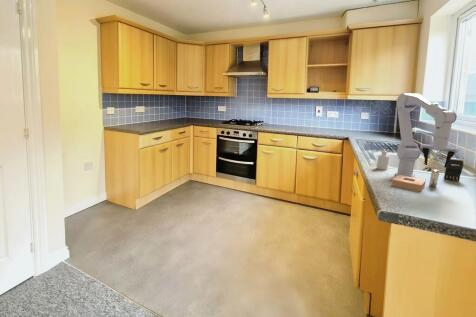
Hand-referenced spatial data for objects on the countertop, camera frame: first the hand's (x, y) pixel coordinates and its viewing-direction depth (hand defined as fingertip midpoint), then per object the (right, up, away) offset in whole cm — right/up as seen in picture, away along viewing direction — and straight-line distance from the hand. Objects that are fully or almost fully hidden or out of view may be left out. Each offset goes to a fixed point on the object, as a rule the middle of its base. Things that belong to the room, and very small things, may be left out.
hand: (435, 165), depth 134 cm
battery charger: (+19, -8, +15) cm, 25 cm away
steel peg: (0, -10, +3) cm, 10 cm away
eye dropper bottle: (-9, -3, +32) cm, 34 cm away
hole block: (-12, -10, +2) cm, 15 cm away
